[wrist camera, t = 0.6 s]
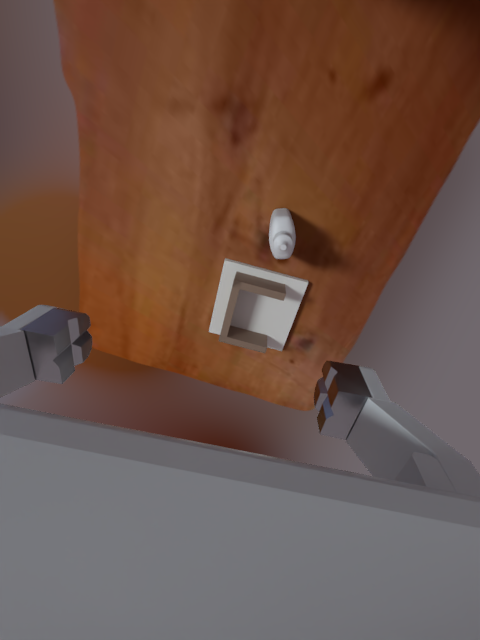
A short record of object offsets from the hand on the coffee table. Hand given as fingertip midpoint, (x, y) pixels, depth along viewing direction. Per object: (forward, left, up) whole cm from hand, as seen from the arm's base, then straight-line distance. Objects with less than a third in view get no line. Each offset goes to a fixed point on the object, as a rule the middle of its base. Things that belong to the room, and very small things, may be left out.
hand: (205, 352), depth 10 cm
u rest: (+16, +4, -38) cm, 41 cm away
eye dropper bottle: (+2, +4, -38) cm, 38 cm away
